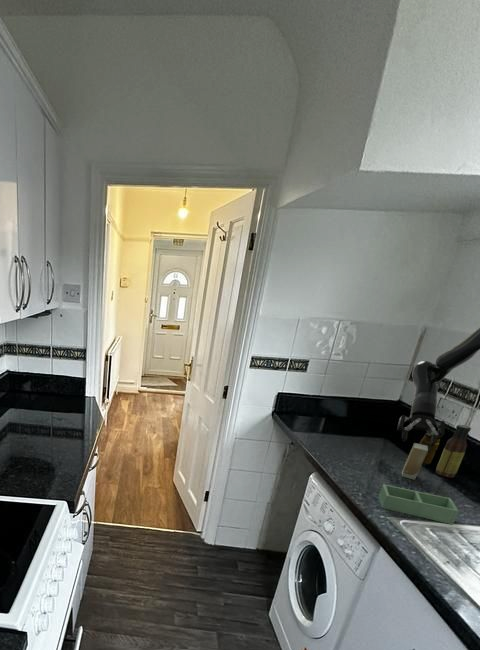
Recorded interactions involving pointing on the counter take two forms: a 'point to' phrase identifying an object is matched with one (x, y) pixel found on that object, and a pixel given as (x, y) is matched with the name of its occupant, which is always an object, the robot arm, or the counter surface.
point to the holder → (418, 504)
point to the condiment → (429, 448)
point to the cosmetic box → (414, 461)
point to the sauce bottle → (453, 452)
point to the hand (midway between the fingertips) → (418, 442)
